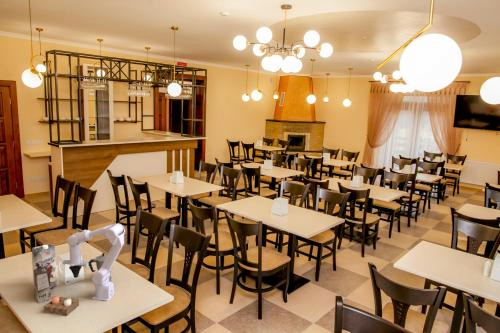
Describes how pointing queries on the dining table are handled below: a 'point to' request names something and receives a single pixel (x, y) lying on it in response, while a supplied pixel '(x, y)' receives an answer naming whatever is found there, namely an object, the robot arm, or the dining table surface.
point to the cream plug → (67, 302)
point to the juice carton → (45, 261)
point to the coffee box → (42, 284)
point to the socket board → (61, 307)
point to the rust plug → (55, 300)
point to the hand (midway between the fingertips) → (76, 277)
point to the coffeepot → (98, 262)
